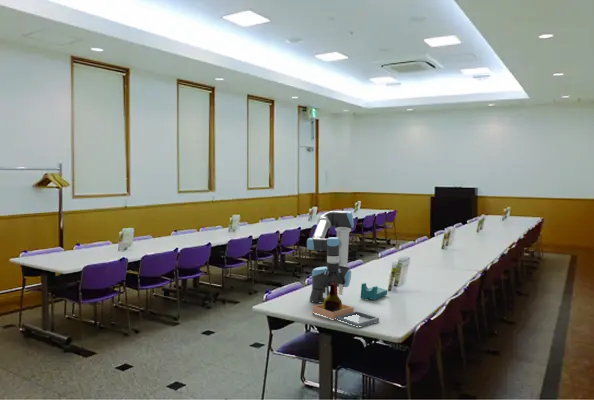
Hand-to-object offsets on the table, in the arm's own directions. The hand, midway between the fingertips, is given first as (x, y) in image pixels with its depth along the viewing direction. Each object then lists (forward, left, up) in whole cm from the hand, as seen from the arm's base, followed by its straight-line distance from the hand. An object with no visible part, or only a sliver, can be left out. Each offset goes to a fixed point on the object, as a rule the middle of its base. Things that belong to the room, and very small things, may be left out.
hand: (332, 296), depth 296 cm
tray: (+19, +2, -12) cm, 22 cm away
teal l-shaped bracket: (-12, +52, -12) cm, 55 cm away
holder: (0, 0, -12) cm, 12 cm away
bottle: (0, 0, -12) cm, 12 cm away
